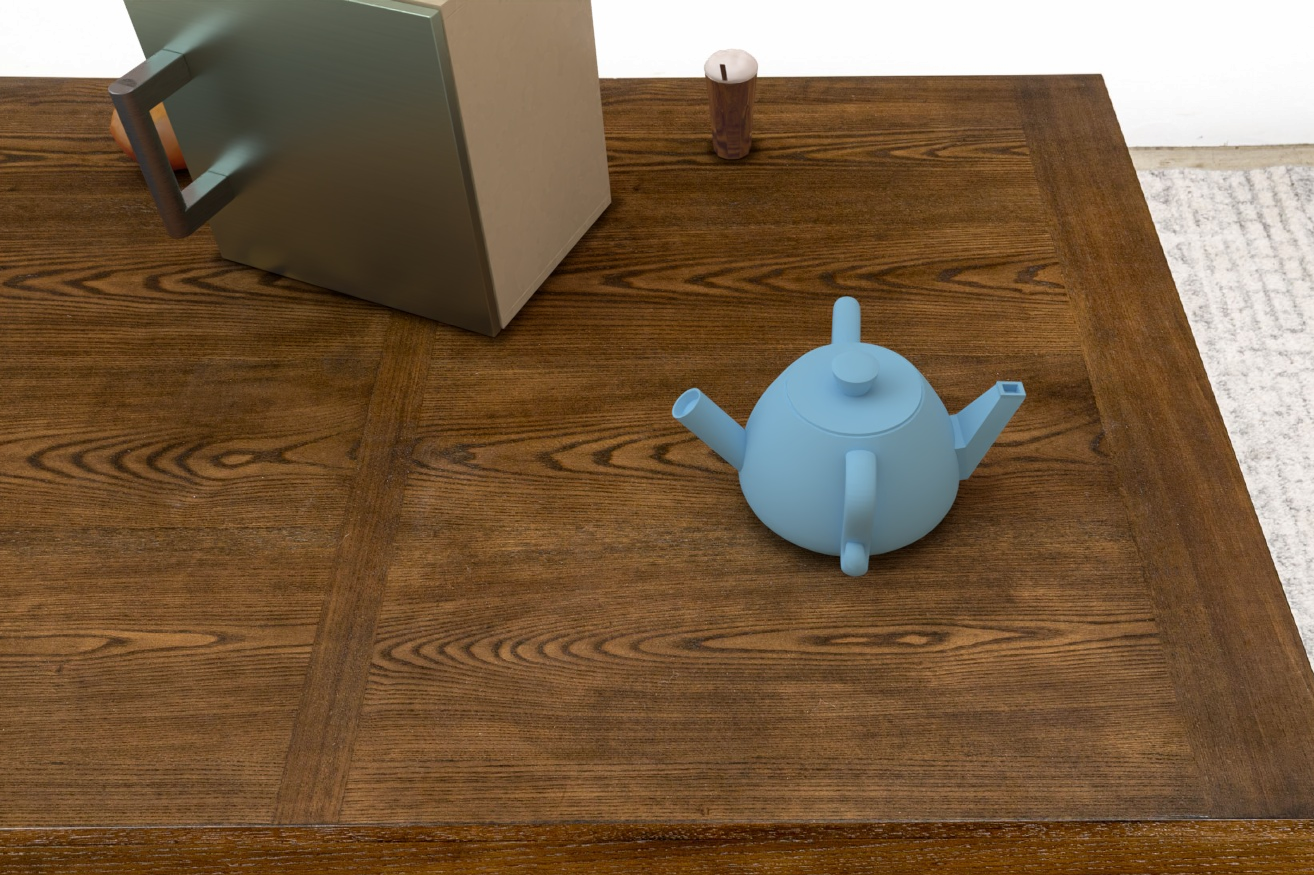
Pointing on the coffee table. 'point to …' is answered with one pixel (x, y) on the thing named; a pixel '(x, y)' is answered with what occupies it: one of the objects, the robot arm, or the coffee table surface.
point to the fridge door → (315, 146)
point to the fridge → (528, 131)
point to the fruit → (163, 131)
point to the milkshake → (731, 100)
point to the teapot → (852, 446)
